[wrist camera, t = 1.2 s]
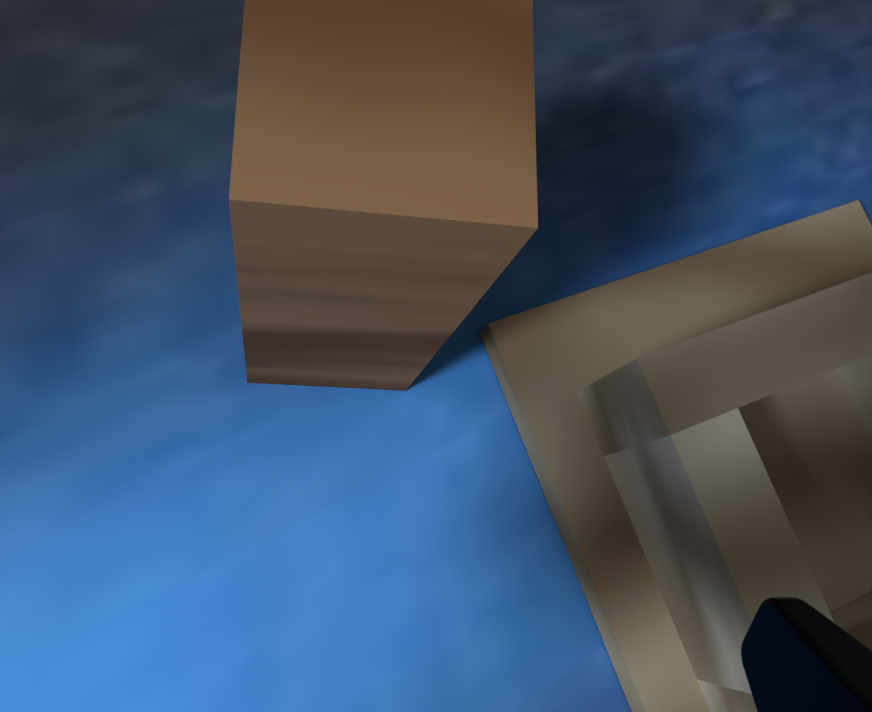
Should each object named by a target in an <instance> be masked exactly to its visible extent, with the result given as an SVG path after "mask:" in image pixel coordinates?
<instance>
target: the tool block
mask: <svg viewBox="0 0 872 712" xmlns="http://www.w3.org/2000/svg"><path fill="white" fill-rule="evenodd" d="M479 333H480V336H481V338H482V341H483V343H484V346H485V348H486V351H487V353H488V356H489V358H490V361H491V363H492V366H493V368H494V371H495V373H496V375H497V378H498V380H499V383H500V385H501V388H502V390H503V393H504V395H505V398H506V400H507V403H508V405H509V408H510V410H511V413H512V415H513V418H514V420H515V423H516V425H517V428H518V430H519V433H520V435H521V438H522V440H523V443H524V445H525V448H526V450H527V453H528V455H529V457H530V460H531V462H532V465H533V467H534V470H535V472H536V475H537V477H538V480H539V482H540V485H541V487H542V490H543V492H544V495H545V497H546V500H547V502H548V505H549V507H550V510H551V512H552V515H553V517H554V520H555V522H556V525H557V527H558V530H559V532H560V535H561V537H562V539H563V542H564V544H565V547H566V549H567V552H568V554H569V557H570V559H571V562H572V564H573V567H574V569H575V572H576V574H577V577H578V579H579V582H580V584H581V587H582V589H583V592H584V594H585V597H586V599H587V602H588V604H589V607H590V609H591V612H592V614H593V617H594V619H595V621H596V624H597V626H598V629H599V631H600V634H601V636H602V639H603V641H604V644H605V646H606V649H607V651H608V654H609V656H610V659H611V661H612V664H613V666H614V669H615V671H616V674H617V676H618V679H619V681H620V684H621V686H622V689H623V691H624V694H625V696H626V699H627V701H628V703H629V706H630V708H631V711H632V712H757V709H756V706H755V703H754V699H753V696H752V693H751V690H750V687H749V683H748V680H747V677H746V674H745V671H744V667H743V664H742V659H741V646H742V642H743V639H744V637H745V635H746V633H747V631H748V629H749V627H750V625H751V623H752V621H753V619H754V616H755V614H756V612H757V610H758V608H759V606H760V605H761V603H762V602H763V601H764V600H765V599H767V598H770V597H795V598H799V599H802V600H804V601H805V602H807V603H808V604H809V605H811V606H812V607H813V608H815V609H816V610H817V611H819V612H820V613H822V614H823V615H824V616H826V617H827V618H828V619H830V620H831V621H832V622H834V623H835V624H836V625H838V626H839V627H840V628H842V629H843V630H844V631H846V632H847V633H848V634H850V635H851V636H853V637H854V638H855V639H857V640H858V641H859V642H861V643H862V644H863V645H865V646H866V647H867V648H869V649H870V650H871V651H872V226H871V224H870V222H869V220H868V218H867V216H866V214H865V212H864V210H863V208H862V206H861V204H860V202H859V200H857V201H854V202H851V203H848V204H845V205H842V206H839V207H836V208H833V209H830V210H827V211H824V212H821V213H818V214H815V215H812V216H809V217H806V218H803V219H800V220H797V221H794V222H791V223H788V224H785V225H782V226H779V227H776V228H773V229H770V230H767V231H764V232H761V233H758V234H755V235H752V236H749V237H746V238H743V239H740V240H737V241H734V242H731V243H728V244H725V245H722V246H719V247H716V248H713V249H710V250H707V251H704V252H701V253H698V254H695V255H692V256H689V257H686V258H683V259H680V260H677V261H674V262H671V263H668V264H665V265H662V266H659V267H656V268H653V269H650V270H647V271H644V272H641V273H638V274H635V275H632V276H628V277H625V278H622V279H619V280H616V281H613V282H610V283H607V284H604V285H601V286H598V287H595V288H592V289H589V290H586V291H583V292H580V293H577V294H574V295H571V296H568V297H565V298H562V299H559V300H556V301H553V302H550V303H547V304H544V305H541V306H538V307H535V308H532V309H529V310H526V311H523V312H520V313H517V314H514V315H511V316H508V317H505V318H502V319H499V320H496V321H493V322H490V323H488V324H487V325H486V326H485V327H484V328H483V329H482V330H481V331H480V332H479Z"/></svg>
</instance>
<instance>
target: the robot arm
mask: <svg viewBox="0 0 872 712" xmlns="http://www.w3.org/2000/svg"><path fill="white" fill-rule="evenodd" d="M741 659H742V664H743V667H744V671H745V674H746V677H747V680H748V683H749V687H750V690H751V693H752V696H753V699H754V703H755V706H756V709H757V712H872V651H871V650H870V649H869V648H867V647H866V646H865V645H863V644H862V643H861V642H859V641H858V640H857V639H855V638H854V637H853V636H851V635H850V634H848V633H847V632H846V631H844V630H843V629H842V628H840V627H839V626H838V625H836V624H835V623H834V622H832V621H831V620H830V619H828V618H827V617H826V616H824V615H823V614H822V613H820V612H819V611H817V610H816V609H815V608H813V607H812V606H811V605H809V604H808V603H807V602H805V601H804V600H802V599H799V598H795V597H770V598H767V599H765V600H764V601H763V602H762V603H761V605H760V606H759V608H758V610H757V612H756V614H755V616H754V619H753V621H752V623H751V625H750V627H749V629H748V631H747V633H746V635H745V637H744V639H743V642H742V646H741Z"/></svg>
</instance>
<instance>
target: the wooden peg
mask: <svg viewBox="0 0 872 712" xmlns="http://www.w3.org/2000/svg"><path fill="white" fill-rule="evenodd" d="M229 205H230V215H231V224H232V234H233V244H234V254H235V264H236V274H237V284H238V294H239V304H240V314H241V324H242V334H243V343H244V353H245V363H246V373H247V383H266V384H285V385H305V386H325V387H345V388H364V389H384V390H404V391H406V390H407V389H408V387H409V386H410V385H411V384H412V382H413V381H414V380H415V379H416V377H417V376H418V375H419V374H420V373H421V371H422V370H423V369H424V368H425V366H426V365H427V364H428V363H429V362H430V360H431V359H432V358H433V357H434V355H435V354H436V353H437V352H438V350H439V349H440V348H441V347H442V346H443V344H444V343H445V342H446V341H447V339H448V338H449V337H450V336H451V334H452V333H453V332H454V331H455V330H456V328H457V327H458V326H459V325H460V323H461V322H462V321H463V320H464V319H465V317H466V316H467V315H468V314H469V312H470V311H471V310H472V309H473V307H474V306H475V305H476V304H477V303H478V301H479V300H480V299H481V298H482V296H483V295H484V294H485V293H486V291H487V290H488V289H489V288H490V287H491V285H492V284H493V283H494V282H495V280H496V279H497V278H498V277H499V275H500V274H501V273H502V272H503V271H504V269H505V268H506V267H507V266H508V264H509V263H510V262H511V261H512V260H513V258H514V257H515V256H516V255H517V253H518V252H519V251H520V250H521V248H522V247H523V246H524V245H525V244H526V242H527V241H528V240H529V239H530V237H531V236H532V235H533V234H534V232H535V231H536V230H537V229H538V205H537V165H536V125H535V85H534V45H533V6H532V0H245V3H244V16H243V28H242V41H241V54H240V66H239V79H238V92H237V104H236V117H235V129H234V142H233V155H232V167H231V180H230V193H229Z"/></svg>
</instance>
